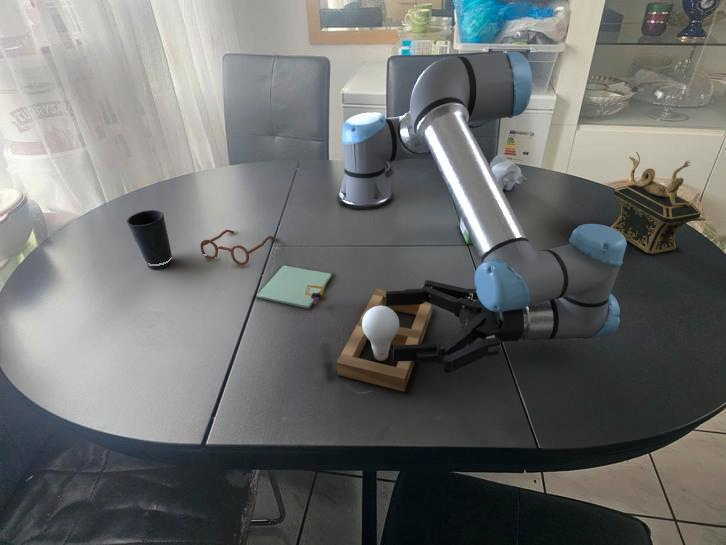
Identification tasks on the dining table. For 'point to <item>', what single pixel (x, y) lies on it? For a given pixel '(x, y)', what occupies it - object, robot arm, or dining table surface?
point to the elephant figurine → (506, 172)
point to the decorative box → (652, 211)
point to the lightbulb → (380, 329)
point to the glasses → (231, 248)
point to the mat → (293, 286)
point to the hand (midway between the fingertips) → (389, 324)
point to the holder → (383, 373)
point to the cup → (151, 237)
